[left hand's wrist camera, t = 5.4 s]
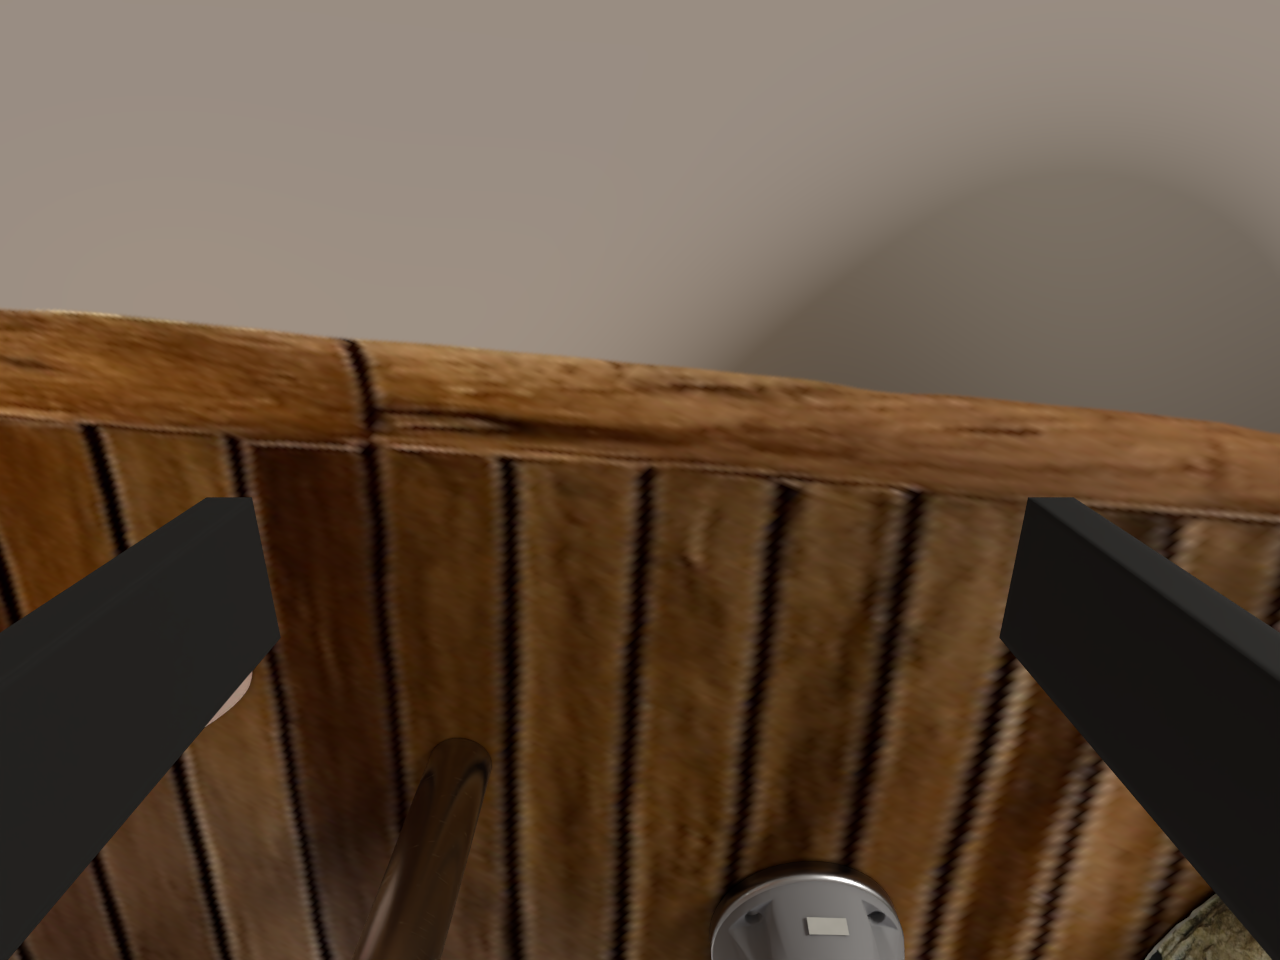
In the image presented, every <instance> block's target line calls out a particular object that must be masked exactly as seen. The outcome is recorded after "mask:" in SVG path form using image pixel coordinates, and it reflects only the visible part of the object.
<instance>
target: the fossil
mask: <svg viewBox="0 0 1280 960" xmlns="http://www.w3.org/2000/svg"><path fill="white" fill-rule="evenodd" d="M1145 960H1272V959H1271V958H1270V957H1269V955H1268V954H1267V953H1266V952H1265V951H1264V950H1263V948H1262V947H1261V946H1260V945H1259V944H1258V942H1257V941H1256V940H1255V939H1254V938H1253V937H1252V935H1251V934H1250V933H1249V932H1248V931H1247V929H1246V928H1245V927H1244V926H1243V925H1242V924H1241V922H1240V921H1239V920H1238V919H1237V918H1236V916H1235V915H1234V914H1233V913H1232V912H1231V911H1230V909H1229V908H1228V907H1227V906H1226V905H1225V903H1224V902H1223V901H1222V900H1221V899H1220V898H1219V896H1218V895H1217V894H1215V895H1213V896H1212V897H1211V898H1210V899H1208V900H1207V901H1206V902H1205V903H1203V904H1202V905H1201V906H1199V907H1198V908H1196V909H1195V910H1193V911H1192V913H1191V915H1190V916H1189V917H1188V918H1186V919H1185V920H1183V921H1182V922H1180V923H1179V924H1177V925H1176V926H1175V927H1174V928H1173V929H1172V930H1171V931H1170V932H1169V933H1168V934H1167V935H1166V936H1165V937H1164V938H1163V939H1162V940H1161V941H1160V942H1159V943H1158V944H1157V945H1156V946H1155V947H1154V948H1153V950H1152V951H1151V952H1150V953H1149V954H1148V956H1147V957H1146V959H1145Z"/></svg>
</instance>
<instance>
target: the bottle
mask: <svg viewBox="0 0 1280 960" xmlns="http://www.w3.org/2000/svg"><path fill="white" fill-rule="evenodd" d="M491 768H492V762H491V758H490V756H489V754H488V752H487V751H486V750H485V749H484V748H483V747H482V746H481V745H479V744H478V743H476V742H474V741H471V740H468V739H463V738H453V739H448V740H445V741H443V742H441V743H440V744H438V745H437V746H436V747H435V748H434V749H433V751H432V753H431V755H430V758H429V760H428V763H427V766H426V768H425V771H424V773H423V776H422V778H421V781H420V784H419V786H418V789H417V791H416V794H415V797H414V799H413V802H412V804H411V807H410V809H409V812H408V815H407V817H406V820H405V822H404V825H403V828H402V830H401V833H400V835H399V838H398V841H397V843H396V846H395V848H394V851H393V853H392V856H391V859H390V861H389V864H388V866H387V869H386V872H385V874H384V877H383V879H382V882H381V885H380V887H379V890H378V892H377V895H376V897H375V900H374V903H373V905H372V908H371V910H370V913H369V916H368V918H367V921H366V923H365V926H364V928H363V931H362V934H361V936H360V939H359V941H358V944H357V947H356V949H355V952H354V954H353V957H352V960H441V956H442V952H443V948H444V945H445V941H446V937H447V933H448V930H449V926H450V922H451V918H452V915H453V911H454V907H455V903H456V900H457V896H458V892H459V889H460V885H461V881H462V877H463V874H464V870H465V866H466V862H467V859H468V855H469V851H470V847H471V844H472V840H473V836H474V832H475V829H476V825H477V821H478V817H479V814H480V810H481V806H482V802H483V799H484V795H485V791H486V787H487V784H488V780H489V776H490V773H491Z"/></svg>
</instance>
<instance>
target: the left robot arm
mask: <svg viewBox="0 0 1280 960" xmlns="http://www.w3.org/2000/svg"><path fill="white" fill-rule="evenodd" d="M279 639H280V633H279V628H278V623H277V618H276V613H275V608H274V603H273V599H272V594H271V589H270V584H269V579H268V574H267V569H266V564H265V559H264V555H263V550H262V545H261V540H260V535H259V530H258V525H257V520H256V516H255V511H254V506H253V501H252V498H205V499H204V500H202V501H200V502H199V503H197V504H196V505H194V506H193V507H191V508H190V509H188V510H187V511H185V512H184V513H182V514H181V515H179V516H178V517H176V518H175V519H173V520H171V521H170V522H168V523H167V524H165V525H164V526H162V527H161V528H159V529H158V530H156V531H155V532H153V533H152V534H150V535H149V536H147V537H146V538H144V539H143V540H141V541H139V542H138V543H136V544H135V545H133V546H132V547H130V548H129V549H127V550H126V551H124V552H123V553H121V554H120V555H118V556H117V557H115V558H114V559H112V560H111V561H109V562H107V563H106V564H104V565H103V566H101V567H100V568H98V569H97V570H95V571H94V572H92V573H91V574H89V575H88V576H86V577H85V578H83V579H82V580H80V581H79V582H77V583H75V584H74V585H72V586H71V587H69V588H68V589H66V590H65V591H63V592H62V593H60V594H59V595H57V596H56V597H54V598H53V599H51V600H50V601H48V602H46V603H45V604H43V605H42V606H40V607H39V608H37V609H36V610H34V611H33V612H31V613H30V614H28V615H27V616H25V617H24V618H22V619H21V620H19V621H18V622H16V623H14V624H13V625H11V626H10V627H8V628H7V629H5V630H4V631H2V632H1V633H0V960H8V959H9V958H10V957H11V955H12V954H13V953H14V952H15V951H16V950H17V948H18V947H19V946H20V945H21V944H22V942H23V941H24V940H25V939H26V938H27V937H28V935H29V934H30V933H31V932H32V931H33V929H34V928H35V927H36V926H37V925H38V924H39V922H40V921H41V920H42V919H43V918H44V916H45V915H46V914H47V913H48V912H49V911H50V909H51V908H52V907H53V906H54V905H55V903H56V902H57V901H58V900H59V899H60V898H61V896H62V895H63V894H64V893H65V892H66V890H67V889H68V888H69V887H70V886H71V885H72V883H73V882H74V881H75V880H76V879H77V877H78V876H79V875H80V874H81V873H82V872H83V870H84V869H85V868H86V867H87V866H88V864H89V863H90V862H91V861H92V860H93V859H94V857H95V856H96V855H97V854H98V853H99V852H100V850H101V849H102V848H103V847H104V846H105V844H106V843H107V842H108V841H109V840H110V839H111V837H112V836H113V835H114V834H115V833H116V831H117V830H118V829H119V828H120V827H121V826H122V824H123V823H124V822H125V821H126V820H127V818H128V817H129V816H130V815H131V814H132V813H133V811H134V810H135V809H136V808H137V807H138V805H139V804H140V803H141V802H142V801H143V800H144V798H145V797H146V796H147V795H148V794H149V792H150V791H151V790H152V789H153V788H154V787H155V785H156V784H157V783H158V782H159V781H160V779H161V778H162V777H163V776H164V775H165V774H166V772H167V771H168V770H169V769H170V768H171V766H172V765H173V764H174V763H175V762H176V761H177V759H178V758H179V757H180V756H181V755H182V753H183V752H184V751H185V750H186V749H187V748H188V746H189V745H190V744H191V743H192V742H193V740H194V739H195V738H196V737H197V736H198V735H199V733H200V732H201V731H202V730H203V729H204V727H205V726H206V725H207V724H208V723H209V722H210V720H211V719H212V718H213V717H214V716H215V715H216V713H217V712H218V711H219V710H220V709H221V707H222V706H223V705H224V704H225V703H226V702H227V700H228V699H229V698H230V697H231V696H232V694H233V693H234V692H235V691H236V690H237V689H238V687H239V686H240V685H241V684H242V683H243V681H244V680H245V679H246V678H247V677H248V676H249V674H250V673H251V672H252V671H253V670H254V668H255V667H256V666H257V665H258V664H259V663H260V661H261V660H262V659H263V658H264V657H265V655H266V654H267V653H268V652H269V651H270V650H271V648H272V647H273V646H274V645H275V644H276V642H277V641H278V640H279ZM1000 639H1001V640H1002V641H1003V642H1004V644H1005V645H1006V646H1007V647H1008V648H1009V650H1010V651H1011V652H1012V653H1013V654H1014V655H1015V657H1016V658H1017V659H1018V660H1019V661H1020V663H1021V664H1022V665H1023V666H1024V667H1025V668H1026V670H1027V671H1028V672H1029V673H1030V674H1031V676H1032V677H1033V678H1034V679H1035V680H1036V681H1037V683H1038V684H1039V685H1040V686H1041V687H1042V689H1043V690H1044V691H1045V692H1046V693H1047V694H1048V696H1049V697H1050V698H1051V699H1052V700H1053V702H1054V703H1055V704H1056V705H1057V706H1058V707H1059V709H1060V710H1061V711H1062V712H1063V713H1064V715H1065V716H1066V717H1067V718H1068V719H1069V720H1070V722H1071V723H1072V724H1073V725H1074V726H1075V727H1076V729H1077V730H1078V731H1079V732H1080V733H1081V735H1082V736H1083V737H1084V738H1085V739H1086V740H1087V742H1088V743H1089V744H1090V745H1091V746H1092V748H1093V749H1094V750H1095V751H1096V752H1097V753H1098V755H1099V756H1100V757H1101V758H1102V759H1103V761H1104V762H1105V763H1106V764H1107V765H1108V766H1109V768H1110V769H1111V770H1112V771H1113V772H1114V774H1115V775H1116V776H1117V777H1118V778H1119V779H1120V781H1121V782H1122V783H1123V784H1124V785H1125V787H1126V788H1127V789H1128V790H1129V791H1130V792H1131V794H1132V795H1133V796H1134V797H1135V798H1136V800H1137V801H1138V802H1139V803H1140V804H1141V805H1142V807H1143V808H1144V809H1145V810H1146V811H1147V813H1148V814H1149V815H1150V816H1151V817H1152V818H1153V820H1154V821H1155V822H1156V823H1157V824H1158V826H1159V827H1160V828H1161V829H1162V830H1163V831H1164V833H1165V834H1166V835H1167V836H1168V837H1169V839H1170V840H1171V841H1172V842H1173V843H1174V844H1175V846H1176V847H1177V848H1178V849H1179V850H1180V852H1181V853H1182V854H1183V855H1184V856H1185V857H1186V859H1187V860H1188V861H1189V862H1190V863H1191V864H1192V866H1193V867H1194V868H1195V869H1196V870H1197V872H1198V873H1199V874H1200V875H1201V876H1202V877H1203V879H1204V880H1205V881H1206V882H1207V883H1208V885H1209V886H1210V887H1211V888H1212V889H1213V890H1214V892H1215V893H1216V894H1217V895H1218V896H1219V898H1220V899H1221V900H1222V901H1223V902H1224V903H1225V905H1226V906H1227V907H1228V908H1229V909H1230V911H1231V912H1232V913H1233V914H1234V915H1235V916H1236V918H1237V919H1238V920H1239V921H1240V922H1241V924H1242V925H1243V926H1244V927H1245V928H1246V929H1247V931H1248V932H1249V933H1250V934H1251V935H1252V937H1253V938H1254V939H1255V940H1256V941H1257V942H1258V944H1259V945H1260V946H1261V947H1262V948H1263V950H1264V951H1265V952H1266V953H1267V954H1268V955H1269V957H1270V958H1271V959H1272V960H1280V633H1279V632H1278V631H1276V630H1275V629H1273V628H1272V627H1270V626H1269V625H1267V624H1266V623H1264V622H1262V621H1261V620H1259V619H1258V618H1256V617H1255V616H1253V615H1252V614H1250V613H1249V612H1247V611H1246V610H1244V609H1243V608H1241V607H1240V606H1238V605H1237V604H1235V603H1234V602H1232V601H1230V600H1229V599H1227V598H1226V597H1224V596H1223V595H1221V594H1220V593H1218V592H1217V591H1215V590H1214V589H1212V588H1211V587H1209V586H1208V585H1206V584H1205V583H1203V582H1201V581H1200V580H1198V579H1197V578H1195V577H1194V576H1192V575H1191V574H1189V573H1188V572H1186V571H1185V570H1183V569H1182V568H1180V567H1179V566H1177V565H1176V564H1174V563H1173V562H1171V561H1169V560H1168V559H1166V558H1165V557H1163V556H1162V555H1160V554H1159V553H1157V552H1156V551H1154V550H1153V549H1151V548H1150V547H1148V546H1147V545H1145V544H1144V543H1142V542H1141V541H1139V540H1137V539H1136V538H1134V537H1133V536H1131V535H1130V534H1128V533H1127V532H1125V531H1124V530H1122V529H1121V528H1119V527H1118V526H1116V525H1115V524H1113V523H1112V522H1110V521H1109V520H1107V519H1105V518H1104V517H1102V516H1101V515H1099V514H1098V513H1096V512H1095V511H1093V510H1092V509H1090V508H1089V507H1087V506H1086V505H1084V504H1083V503H1081V502H1080V501H1078V500H1076V499H1075V498H1028V501H1027V506H1026V511H1025V516H1024V520H1023V525H1022V530H1021V535H1020V540H1019V545H1018V550H1017V555H1016V559H1015V564H1014V569H1013V574H1012V579H1011V584H1010V589H1009V594H1008V599H1007V603H1006V608H1005V613H1004V618H1003V623H1002V628H1001V633H1000ZM710 947H711V957H712V960H905V959H904V936H903V931H902V928H901V925H900V922H899V919H898V916H897V914H896V911H895V908H894V906H893V903H892V901H891V899H890V898H889V896H888V895H887V893H886V892H885V891H884V889H883V888H882V887H881V886H880V885H879V884H878V883H876V882H875V881H874V880H873V879H871V878H870V877H868V876H866V875H865V874H863V873H861V872H859V871H857V870H855V869H852V868H849V867H846V866H843V865H839V864H834V863H829V862H819V861H802V862H792V863H786V864H781V865H777V866H774V867H770V868H768V869H765V870H762V871H760V872H758V873H755V874H753V875H751V876H750V877H748V878H746V879H745V880H743V881H741V882H740V883H739V884H737V885H736V886H735V887H733V888H732V889H731V890H730V891H729V892H728V893H727V894H726V895H725V896H724V898H723V899H722V900H721V902H720V903H719V904H718V906H717V908H716V910H715V912H714V914H713V917H712V920H711V924H710Z"/></svg>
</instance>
